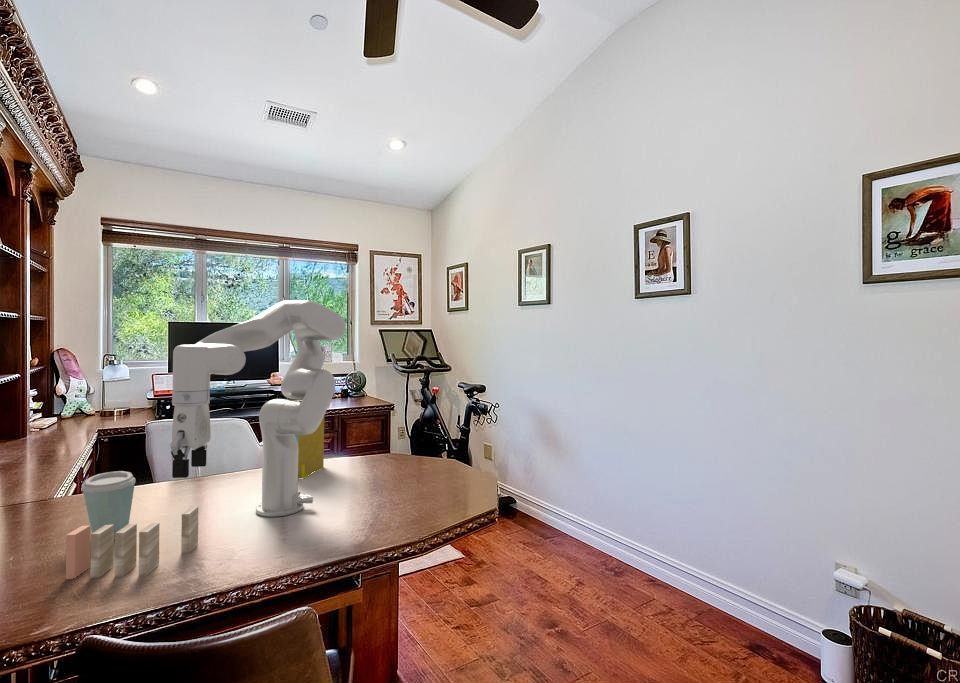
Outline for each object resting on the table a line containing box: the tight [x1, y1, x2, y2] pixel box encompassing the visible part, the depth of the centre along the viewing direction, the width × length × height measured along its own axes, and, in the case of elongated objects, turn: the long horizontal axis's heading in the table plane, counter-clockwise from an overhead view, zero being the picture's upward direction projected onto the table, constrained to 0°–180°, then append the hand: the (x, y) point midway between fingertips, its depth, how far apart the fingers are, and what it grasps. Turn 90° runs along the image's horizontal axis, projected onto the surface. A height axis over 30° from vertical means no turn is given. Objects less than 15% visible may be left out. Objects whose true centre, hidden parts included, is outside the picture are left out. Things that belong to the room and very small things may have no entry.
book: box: [294, 416, 325, 479], centre depth 181 cm, size 17×7×25 cm, turn 168°
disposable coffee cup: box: [81, 470, 137, 541], centre depth 121 cm, size 11×11×15 cm
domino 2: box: [89, 525, 115, 579], centre depth 103 cm, size 2×5×9 cm, turn 9°
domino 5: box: [180, 506, 199, 555], centre depth 115 cm, size 2×5×9 cm, turn 9°
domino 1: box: [65, 525, 92, 580], centre depth 103 cm, size 2×5×9 cm, turn 9°
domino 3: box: [114, 523, 138, 578], centre depth 104 cm, size 2×5×9 cm, turn 8°
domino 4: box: [138, 522, 160, 577], centre depth 105 cm, size 2×5×9 cm, turn 8°
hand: (190, 471), depth 115 cm, fingers open, 9 cm apart
